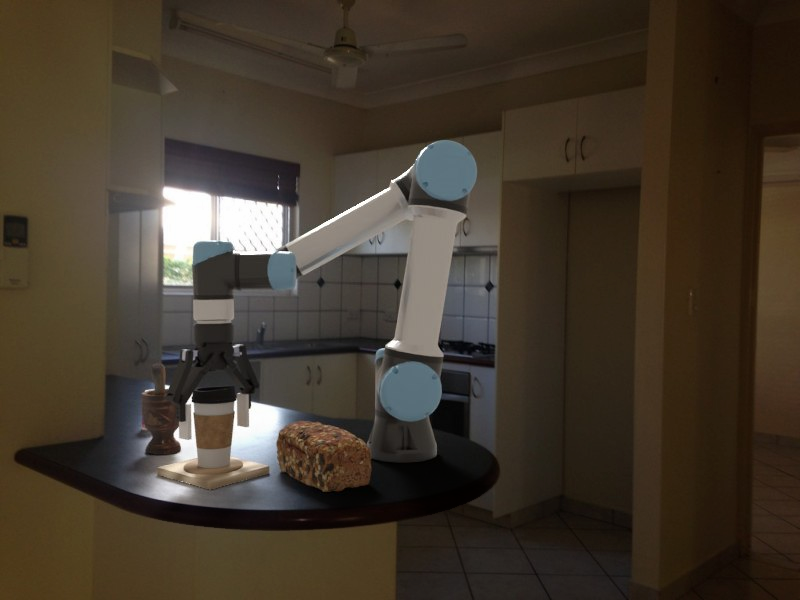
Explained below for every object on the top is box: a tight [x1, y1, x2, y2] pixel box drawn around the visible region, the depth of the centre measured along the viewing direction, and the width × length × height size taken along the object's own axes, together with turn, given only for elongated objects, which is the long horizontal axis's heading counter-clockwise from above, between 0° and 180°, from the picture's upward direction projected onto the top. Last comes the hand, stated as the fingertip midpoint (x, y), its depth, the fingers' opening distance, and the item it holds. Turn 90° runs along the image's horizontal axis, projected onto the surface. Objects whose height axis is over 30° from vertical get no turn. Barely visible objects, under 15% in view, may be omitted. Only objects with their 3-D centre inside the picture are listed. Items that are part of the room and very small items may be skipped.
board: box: [156, 456, 270, 491], centre depth 133 cm, size 16×14×2 cm
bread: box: [275, 420, 372, 493], centre depth 131 cm, size 19×11×10 cm, turn 37°
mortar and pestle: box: [140, 362, 182, 456], centre depth 149 cm, size 12×9×20 cm
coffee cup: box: [191, 385, 237, 468], centre depth 133 cm, size 8×8×15 cm
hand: (215, 432), depth 133 cm, fingers open, 13 cm apart
